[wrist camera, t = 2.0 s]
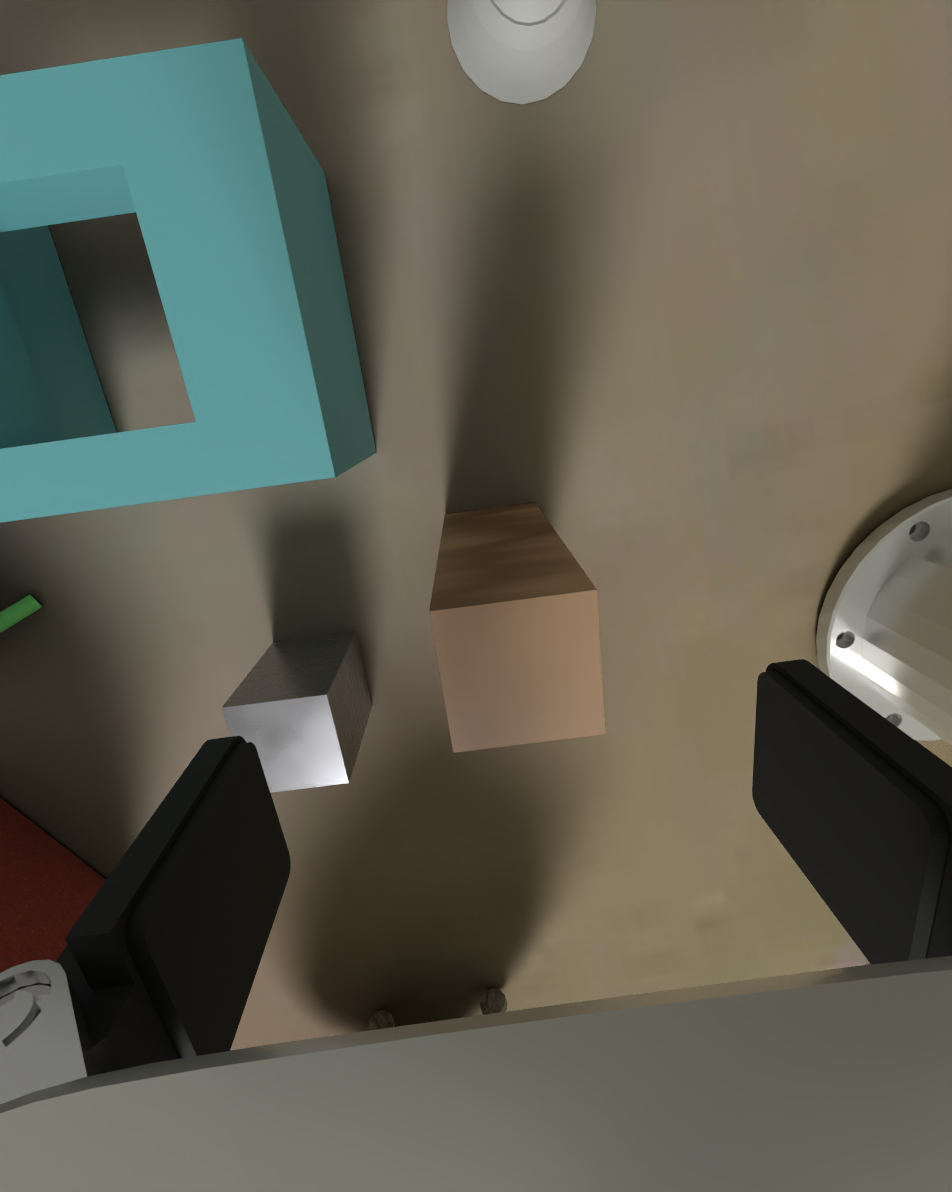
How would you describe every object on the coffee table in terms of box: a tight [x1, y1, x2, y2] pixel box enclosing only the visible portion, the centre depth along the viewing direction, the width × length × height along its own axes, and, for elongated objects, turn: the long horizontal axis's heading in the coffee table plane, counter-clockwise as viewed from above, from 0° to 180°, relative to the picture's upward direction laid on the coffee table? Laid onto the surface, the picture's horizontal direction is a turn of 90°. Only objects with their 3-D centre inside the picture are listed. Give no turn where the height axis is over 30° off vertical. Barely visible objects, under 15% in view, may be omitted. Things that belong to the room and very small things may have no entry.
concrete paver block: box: [222, 632, 372, 793], centre depth 24 cm, size 4×4×6 cm
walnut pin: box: [429, 502, 606, 753], centre depth 20 cm, size 4×4×12 cm
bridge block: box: [0, 38, 376, 523], centre depth 18 cm, size 13×10×8 cm
